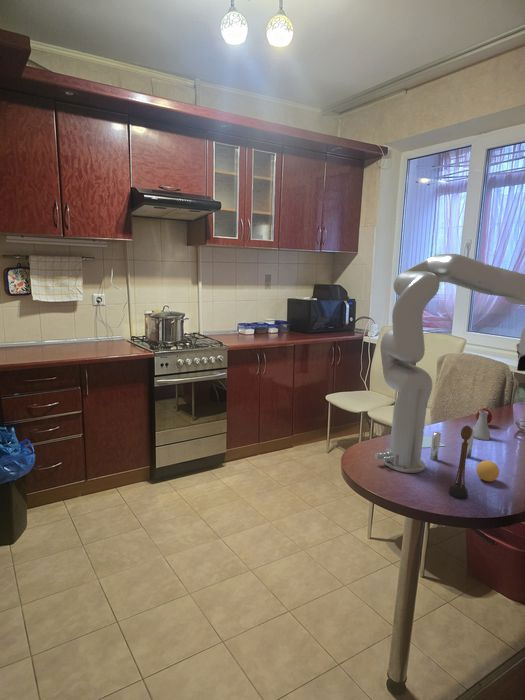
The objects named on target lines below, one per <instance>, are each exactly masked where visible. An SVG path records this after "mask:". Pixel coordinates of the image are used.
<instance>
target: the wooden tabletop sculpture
mask: <svg viewBox="0 0 525 700" xmlns="http://www.w3.org/2000/svg"><path fill="white" fill-rule="evenodd" d="M472 431H473V428H472V427H471V426H470V425H465V426H463V427H462V428H461V431H460V438H461V439H462V440H463V442H461V449H460V457H459V463H458V469H457V472H456V475H455V476H456V477H455V480H454V482H453V484H452V485H451V486H450V487H449V489H448V494H449V496H451V497H452V498H454V499H458V500H467V499H468V498H469V492H468V488H467V487H466V482H465V481H466V480H465V479H466V478H465V473H466V472H465V471H466V461H467V458H466V454H467V447H468V443H467V440H469V439H470V438H471V436H472Z"/></svg>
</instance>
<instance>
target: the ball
mask: <svg viewBox="0 0 525 700" xmlns="http://www.w3.org/2000/svg"><path fill="white" fill-rule="evenodd" d="M476 474H477V477H479V479H481V480H483V481H485V482H493V481H495V480H496V479H498V478H499V476H500V468H499V466H498V465H497V464H496V463H495V462H494V461H491V460H487V459H486V460H482V461H481V462H479V463H477V466H476Z"/></svg>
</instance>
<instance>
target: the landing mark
mask: <svg viewBox="0 0 525 700" xmlns="http://www.w3.org/2000/svg"><path fill="white" fill-rule="evenodd" d="M432 437H433V436H431V435H423V442H422V449H426V448H429V449H430V448H431V445H432ZM440 447H446V444H444V443H442V442H440V446H439V448H440Z"/></svg>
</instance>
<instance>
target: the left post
mask: <svg viewBox="0 0 525 700" xmlns="http://www.w3.org/2000/svg"><path fill="white" fill-rule="evenodd" d="M431 437H432V445H431V447H430V455H429V459H430V460H431V461H435V462H436V461H438V459H439V452H440V447H439V446H440V443H441V437H442V433H441V432H439V431H433V432H432V436H431Z"/></svg>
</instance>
